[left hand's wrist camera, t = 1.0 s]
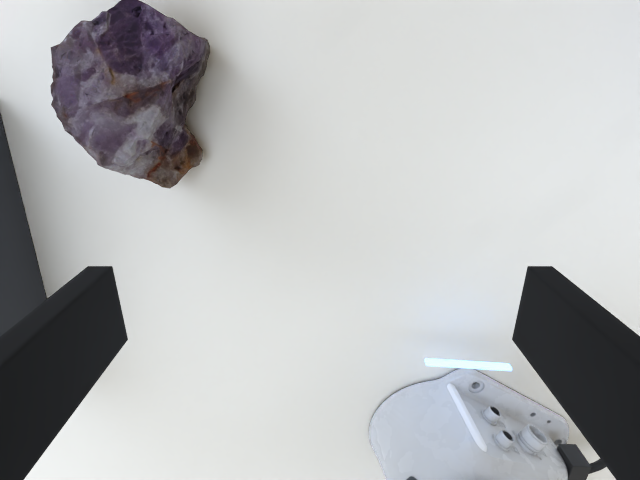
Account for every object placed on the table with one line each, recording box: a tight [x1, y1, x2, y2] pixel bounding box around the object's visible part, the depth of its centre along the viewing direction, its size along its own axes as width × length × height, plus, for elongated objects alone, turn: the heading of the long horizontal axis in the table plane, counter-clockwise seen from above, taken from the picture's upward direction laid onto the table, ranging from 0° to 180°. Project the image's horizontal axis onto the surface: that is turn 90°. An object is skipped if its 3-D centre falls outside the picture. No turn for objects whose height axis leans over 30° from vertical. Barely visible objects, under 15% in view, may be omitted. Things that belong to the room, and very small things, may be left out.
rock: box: [51, 0, 210, 188], centre depth 29 cm, size 12×9×10 cm
